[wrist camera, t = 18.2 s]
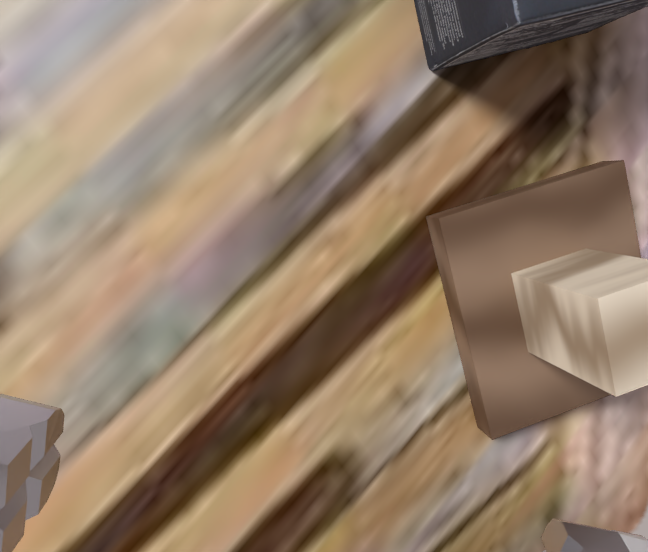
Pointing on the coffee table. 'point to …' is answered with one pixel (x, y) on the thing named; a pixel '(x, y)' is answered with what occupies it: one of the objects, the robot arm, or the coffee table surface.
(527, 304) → the birch block
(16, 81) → the coffee table surface
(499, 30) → the small box
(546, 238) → the walnut board
